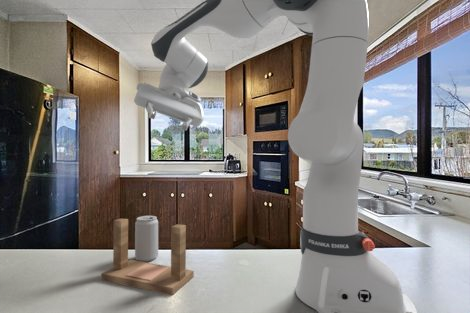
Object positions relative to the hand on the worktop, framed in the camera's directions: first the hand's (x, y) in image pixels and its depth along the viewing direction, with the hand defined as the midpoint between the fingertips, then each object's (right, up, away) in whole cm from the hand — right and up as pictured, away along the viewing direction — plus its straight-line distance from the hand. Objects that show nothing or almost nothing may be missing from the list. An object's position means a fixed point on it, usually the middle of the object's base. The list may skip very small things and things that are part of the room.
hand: (168, 122), depth 71 cm
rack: (-3, -39, -9) cm, 40 cm away
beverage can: (-7, -39, +4) cm, 40 cm away
